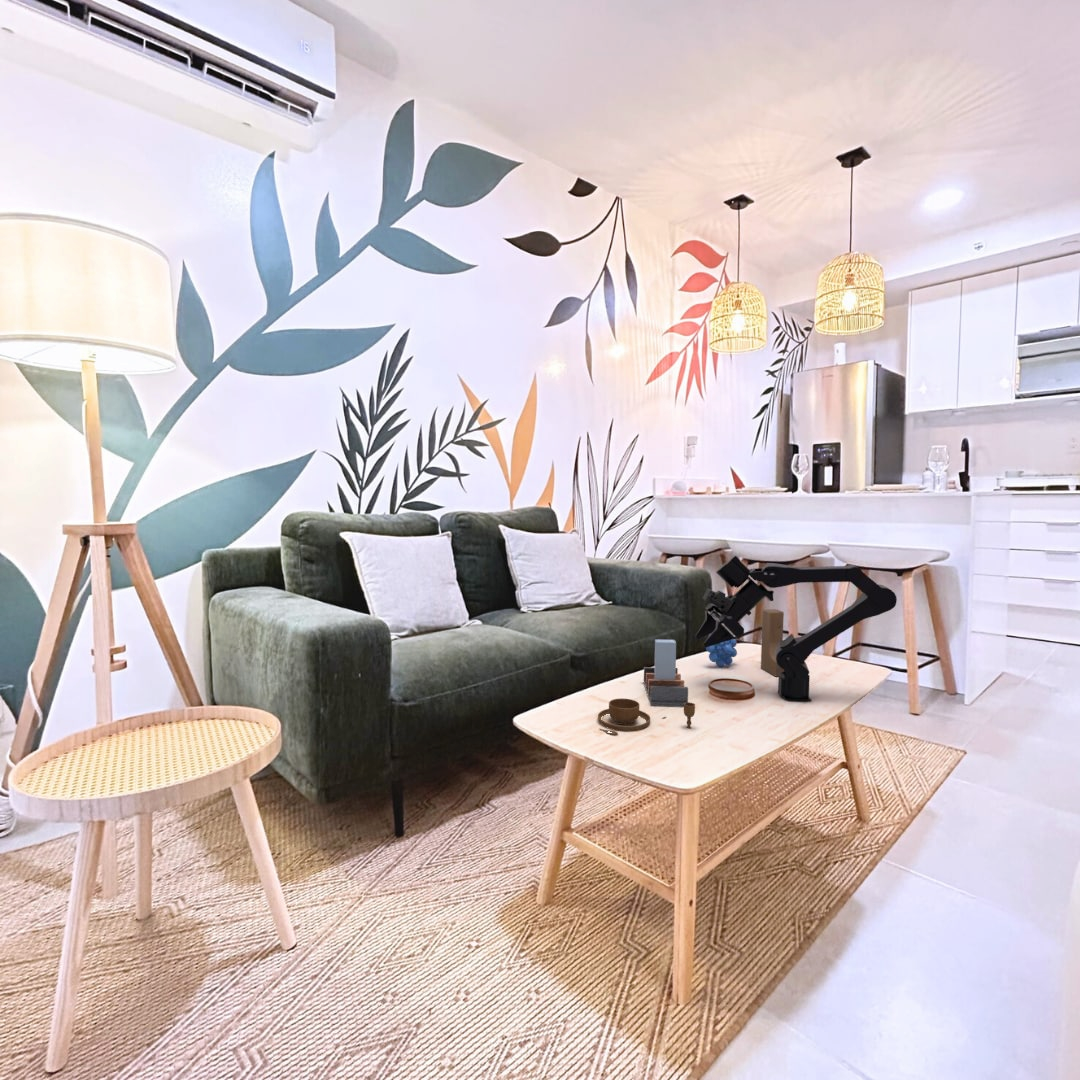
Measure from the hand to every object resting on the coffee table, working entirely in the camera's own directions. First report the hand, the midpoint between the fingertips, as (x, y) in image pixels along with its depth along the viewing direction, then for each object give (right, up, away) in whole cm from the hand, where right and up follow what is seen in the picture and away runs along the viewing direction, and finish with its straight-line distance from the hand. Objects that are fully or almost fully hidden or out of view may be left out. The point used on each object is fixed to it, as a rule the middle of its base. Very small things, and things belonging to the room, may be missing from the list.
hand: (700, 641), depth 158 cm
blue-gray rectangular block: (-9, -13, -1) cm, 16 cm away
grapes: (+13, -12, +24) cm, 30 cm away
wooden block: (+27, -12, +19) cm, 35 cm away
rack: (-10, -14, -1) cm, 17 cm away
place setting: (-20, -16, -23) cm, 34 cm away
